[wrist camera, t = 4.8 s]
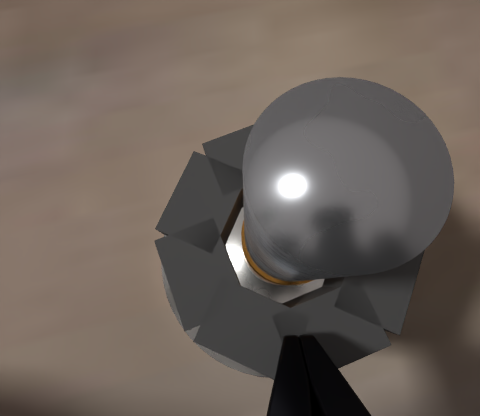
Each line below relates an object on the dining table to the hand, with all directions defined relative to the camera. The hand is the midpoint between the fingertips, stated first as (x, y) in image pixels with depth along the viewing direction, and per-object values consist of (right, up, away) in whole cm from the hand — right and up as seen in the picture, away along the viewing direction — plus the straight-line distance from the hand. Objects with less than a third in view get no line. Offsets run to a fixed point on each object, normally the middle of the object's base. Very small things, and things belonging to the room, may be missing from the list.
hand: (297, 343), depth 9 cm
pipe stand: (0, +1, +7) cm, 8 cm away
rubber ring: (0, +2, +4) cm, 4 cm away
